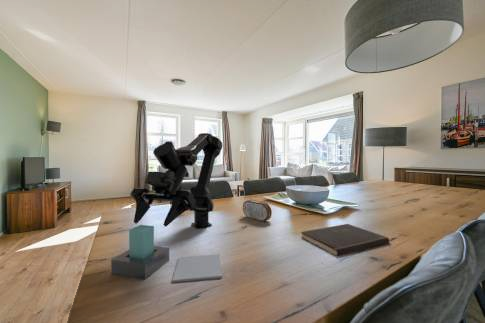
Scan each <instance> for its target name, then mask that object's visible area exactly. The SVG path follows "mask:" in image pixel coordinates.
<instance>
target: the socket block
mask: <svg viewBox="0 0 485 323" xmlns="http://www.w3.org/2000/svg"><path fill="white" fill-rule="evenodd" d="M169 261H170V247H166V246H159V245H154V253H153V254H151V255H150V256H148V257H147V258H145V259H137V258H130V257H129V249H128V250H126V251H124V252H122V253H121V254H119V255H117V256H115V257H114V258H111V260H110V264H111V268H110V269H111V271H110V272H111V275H114V276H120V277H127V278H132V279H138V280H142V281H143V280H144V281H145V280H147V279H148V278H149V277H150V276H152V275H153V274H154V273H155V272H157V271H158V270H159V269H161V268H162V267H163V266H164V265H165V264H167V263H168V262H169Z"/></svg>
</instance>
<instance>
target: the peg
mask: <svg viewBox="0 0 485 323" xmlns="http://www.w3.org/2000/svg"><path fill="white" fill-rule="evenodd" d="M128 234H129V235H128V238H129V240H128V241H129V242H128V244H129V246H128V247H129V249H128V250H129V257H130V258H137V259H145V258H147V257H148V256H150V255H151V254H153V253H154V246H155V227H154V225H146V224H145V225H144V224H140V225H137V226H134V227H133V228H130V229H129V230H128Z"/></svg>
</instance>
